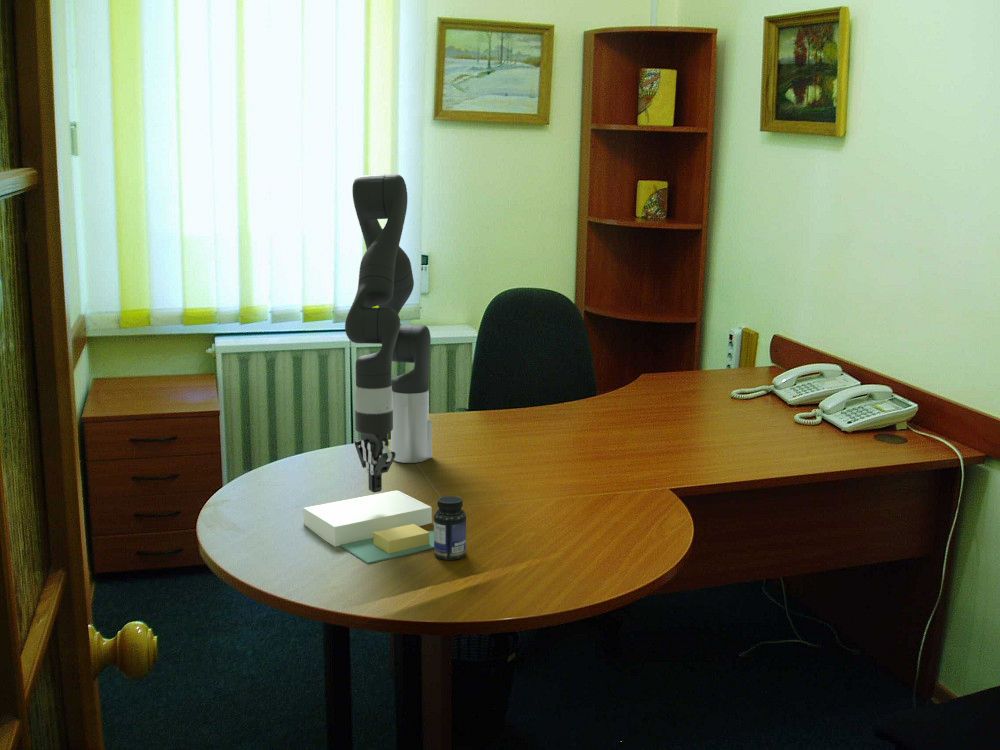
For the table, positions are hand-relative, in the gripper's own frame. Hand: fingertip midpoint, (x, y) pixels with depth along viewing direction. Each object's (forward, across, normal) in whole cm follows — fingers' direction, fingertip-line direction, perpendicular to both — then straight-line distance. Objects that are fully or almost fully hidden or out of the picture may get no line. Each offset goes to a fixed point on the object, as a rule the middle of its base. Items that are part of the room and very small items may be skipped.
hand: (375, 490), depth 193 cm
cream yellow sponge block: (+5, -11, +1) cm, 12 cm away
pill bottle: (+8, -21, -4) cm, 23 cm away
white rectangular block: (+8, +2, +1) cm, 8 cm away
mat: (+8, -11, +1) cm, 13 cm away
